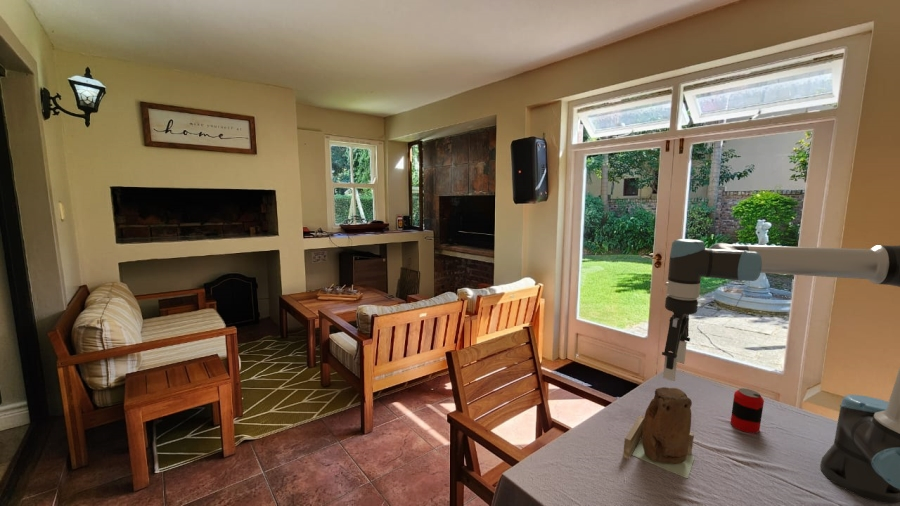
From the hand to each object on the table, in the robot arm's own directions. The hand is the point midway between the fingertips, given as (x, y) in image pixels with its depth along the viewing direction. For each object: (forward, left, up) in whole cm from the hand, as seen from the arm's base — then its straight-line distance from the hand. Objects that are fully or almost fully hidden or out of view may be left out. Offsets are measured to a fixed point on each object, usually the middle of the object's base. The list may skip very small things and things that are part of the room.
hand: (674, 370), depth 107 cm
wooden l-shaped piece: (+2, 0, -27) cm, 27 cm away
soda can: (-17, -34, -27) cm, 46 cm away
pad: (0, 0, -27) cm, 27 cm away
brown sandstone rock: (0, +1, -27) cm, 27 cm away
